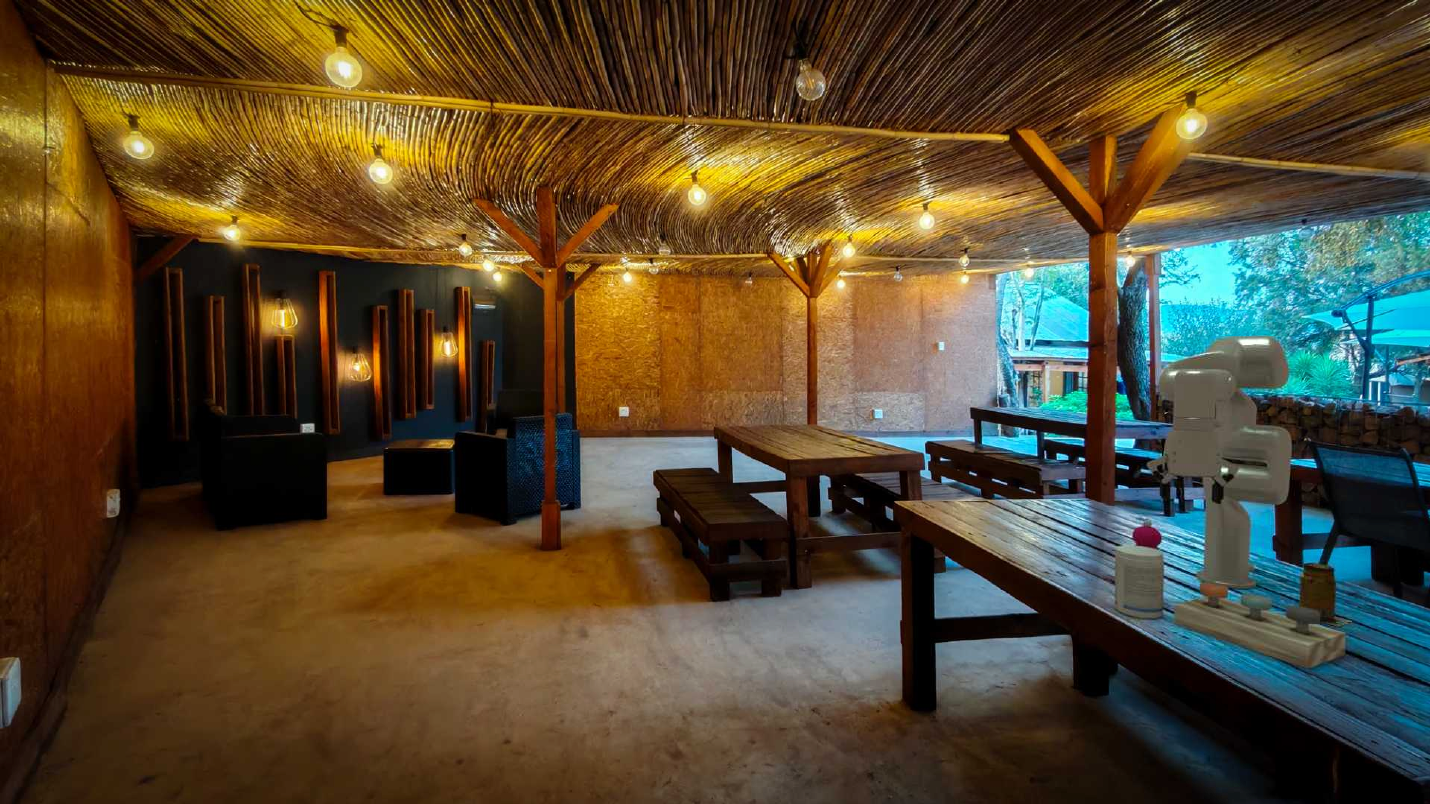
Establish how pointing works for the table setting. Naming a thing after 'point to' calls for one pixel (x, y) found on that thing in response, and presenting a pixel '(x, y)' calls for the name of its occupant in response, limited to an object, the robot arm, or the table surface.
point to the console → (1261, 632)
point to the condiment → (1320, 592)
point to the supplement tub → (1139, 581)
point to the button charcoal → (1302, 617)
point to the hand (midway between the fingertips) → (1190, 501)
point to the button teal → (1256, 604)
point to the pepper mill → (1147, 536)
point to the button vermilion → (1213, 593)
